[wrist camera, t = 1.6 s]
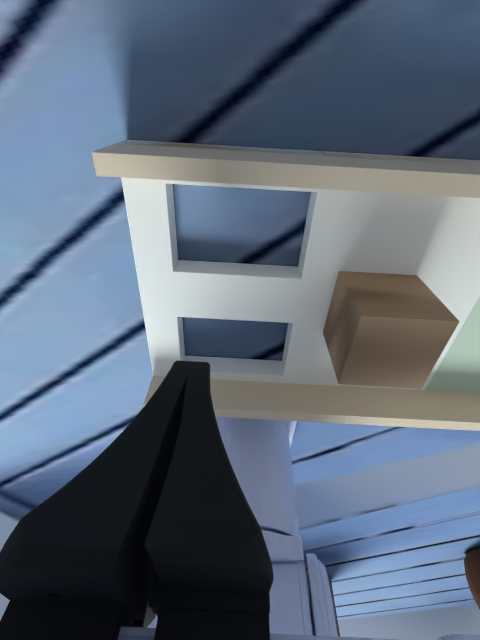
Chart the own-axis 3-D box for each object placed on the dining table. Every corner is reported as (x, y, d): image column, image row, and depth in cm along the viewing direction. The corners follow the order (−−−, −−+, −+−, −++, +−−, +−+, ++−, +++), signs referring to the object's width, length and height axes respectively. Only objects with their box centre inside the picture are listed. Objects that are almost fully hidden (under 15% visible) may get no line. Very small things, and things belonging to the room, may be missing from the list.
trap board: (529, 389, 24) (574, 435, 20) (159, 369, 23) (145, 412, 20) (716, 174, 15) (847, 196, 12) (126, 139, 15) (92, 152, 11)
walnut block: (390, 336, 19) (421, 388, 16) (322, 332, 19) (338, 384, 16) (417, 275, 17) (459, 321, 13) (338, 270, 17) (361, 316, 13)
